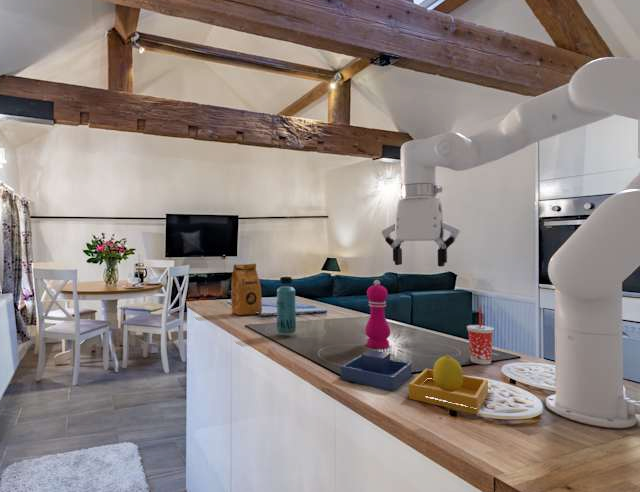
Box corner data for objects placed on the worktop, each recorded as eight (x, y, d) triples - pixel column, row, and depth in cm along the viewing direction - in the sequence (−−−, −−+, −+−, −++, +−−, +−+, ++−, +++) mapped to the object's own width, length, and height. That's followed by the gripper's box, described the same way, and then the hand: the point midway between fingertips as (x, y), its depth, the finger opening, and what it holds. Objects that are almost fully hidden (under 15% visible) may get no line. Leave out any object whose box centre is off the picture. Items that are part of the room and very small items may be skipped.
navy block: (390, 374, 96) (390, 353, 96) (382, 380, 92) (382, 358, 92) (370, 370, 99) (369, 349, 99) (361, 375, 95) (361, 354, 95)
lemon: (467, 400, 80) (466, 359, 80) (437, 398, 81) (436, 358, 81) (458, 389, 86) (457, 352, 86) (430, 388, 87) (429, 350, 87)
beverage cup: (489, 367, 102) (489, 311, 102) (463, 361, 106) (462, 308, 106) (497, 361, 106) (497, 308, 106) (472, 356, 110) (471, 305, 110)
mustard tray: (488, 394, 84) (487, 380, 84) (477, 414, 75) (476, 398, 75) (426, 381, 92) (425, 368, 92) (409, 398, 83) (408, 383, 83)
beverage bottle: (282, 332, 141) (282, 275, 141) (299, 335, 137) (299, 276, 137) (273, 336, 136) (272, 277, 136) (290, 339, 132) (289, 278, 132)
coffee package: (264, 315, 173) (263, 263, 173) (237, 317, 169) (236, 264, 169) (255, 311, 183) (254, 262, 183) (229, 313, 178) (228, 263, 178)
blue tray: (411, 375, 96) (411, 363, 96) (393, 391, 87) (393, 377, 87) (362, 365, 104) (362, 354, 104) (340, 379, 95) (340, 366, 95)
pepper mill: (364, 347, 120) (363, 280, 121) (366, 341, 127) (365, 278, 127) (390, 350, 118) (389, 281, 118) (390, 343, 124) (389, 279, 125)
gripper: (462, 191, 93) (463, 265, 93) (387, 197, 104) (388, 263, 104) (454, 188, 87) (456, 267, 87) (376, 195, 98) (377, 265, 98)
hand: (419, 265), depth 96 cm, fingers open, 9 cm apart
